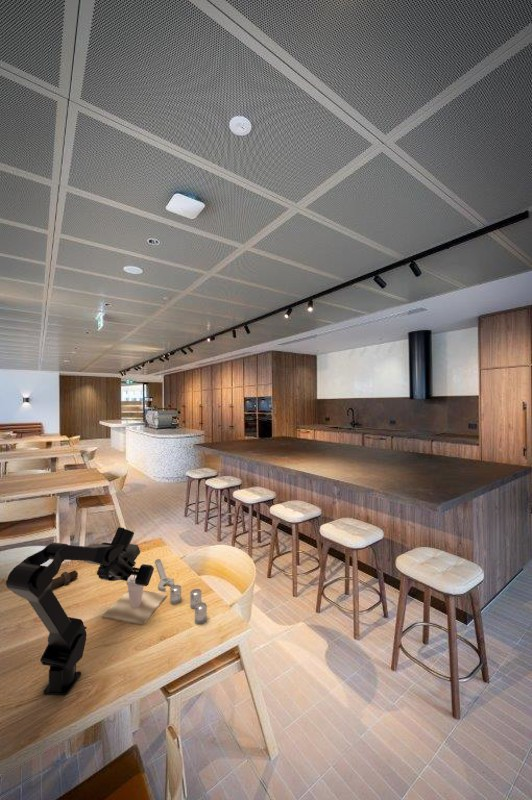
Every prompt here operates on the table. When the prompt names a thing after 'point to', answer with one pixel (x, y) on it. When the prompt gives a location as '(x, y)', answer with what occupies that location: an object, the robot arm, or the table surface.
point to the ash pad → (135, 615)
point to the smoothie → (134, 592)
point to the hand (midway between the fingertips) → (136, 579)
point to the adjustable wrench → (163, 577)
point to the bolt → (64, 578)
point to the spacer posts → (191, 603)
